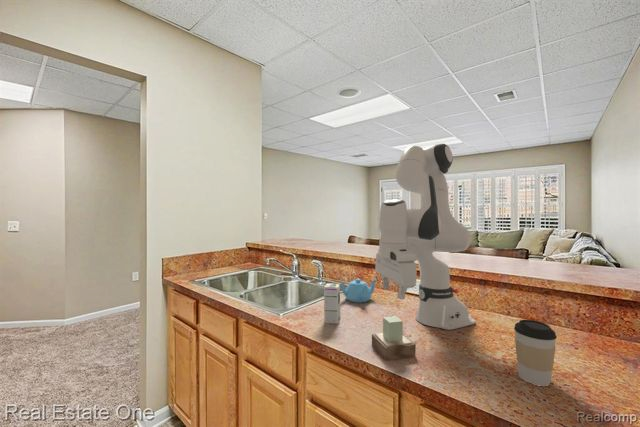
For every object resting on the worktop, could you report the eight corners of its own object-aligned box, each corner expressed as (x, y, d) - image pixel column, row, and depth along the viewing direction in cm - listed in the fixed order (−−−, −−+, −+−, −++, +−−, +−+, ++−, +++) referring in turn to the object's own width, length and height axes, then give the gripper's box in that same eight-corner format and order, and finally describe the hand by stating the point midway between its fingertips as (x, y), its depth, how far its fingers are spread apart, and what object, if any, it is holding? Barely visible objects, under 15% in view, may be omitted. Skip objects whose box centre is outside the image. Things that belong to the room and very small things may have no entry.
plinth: (399, 341, 98) (399, 329, 98) (415, 356, 88) (415, 343, 88) (371, 344, 95) (371, 332, 95) (385, 360, 86) (385, 347, 86)
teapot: (352, 293, 153) (352, 274, 153) (378, 298, 145) (378, 278, 145) (338, 300, 141) (338, 280, 141) (365, 306, 133) (365, 284, 133)
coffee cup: (537, 369, 81) (537, 316, 81) (565, 389, 72) (566, 329, 72) (505, 369, 81) (506, 316, 80) (530, 390, 71) (531, 330, 71)
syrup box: (338, 324, 113) (338, 287, 112) (323, 322, 114) (323, 286, 114) (340, 318, 118) (340, 283, 118) (326, 317, 119) (326, 282, 119)
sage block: (395, 334, 94) (395, 316, 94) (402, 340, 90) (402, 321, 90) (382, 335, 93) (382, 317, 93) (389, 341, 89) (389, 322, 89)
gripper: (370, 246, 100) (370, 285, 101) (400, 257, 81) (400, 305, 81) (387, 245, 102) (387, 283, 103) (420, 256, 82) (420, 303, 83)
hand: (393, 293), depth 92 cm, fingers open, 8 cm apart
